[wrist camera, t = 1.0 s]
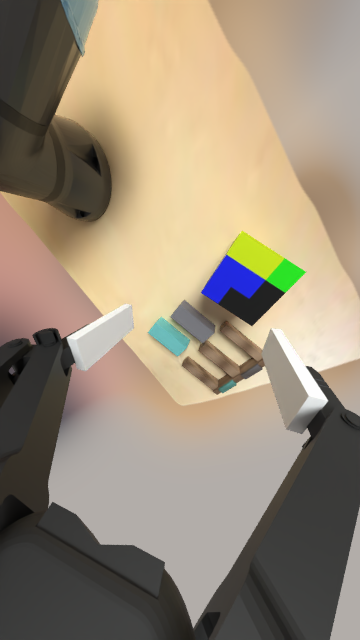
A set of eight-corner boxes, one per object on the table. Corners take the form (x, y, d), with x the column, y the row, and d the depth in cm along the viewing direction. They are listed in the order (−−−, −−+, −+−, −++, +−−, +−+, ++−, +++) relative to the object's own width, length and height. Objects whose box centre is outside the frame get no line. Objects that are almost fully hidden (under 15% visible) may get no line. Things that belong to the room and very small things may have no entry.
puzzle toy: (207, 281, 33) (201, 292, 25) (237, 236, 29) (242, 230, 20) (245, 306, 33) (251, 326, 25) (281, 265, 28) (306, 272, 20)
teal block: (154, 325, 43) (147, 332, 39) (161, 316, 41) (155, 322, 37) (181, 347, 43) (177, 356, 40) (190, 339, 41) (186, 347, 38)
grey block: (175, 310, 39) (170, 316, 35) (184, 299, 37) (180, 304, 33) (204, 334, 39) (202, 343, 36) (215, 325, 37) (214, 333, 34)
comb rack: (184, 359, 44) (180, 368, 41) (226, 320, 36) (226, 327, 33) (217, 386, 45) (217, 396, 42) (267, 354, 36) (271, 364, 33)
